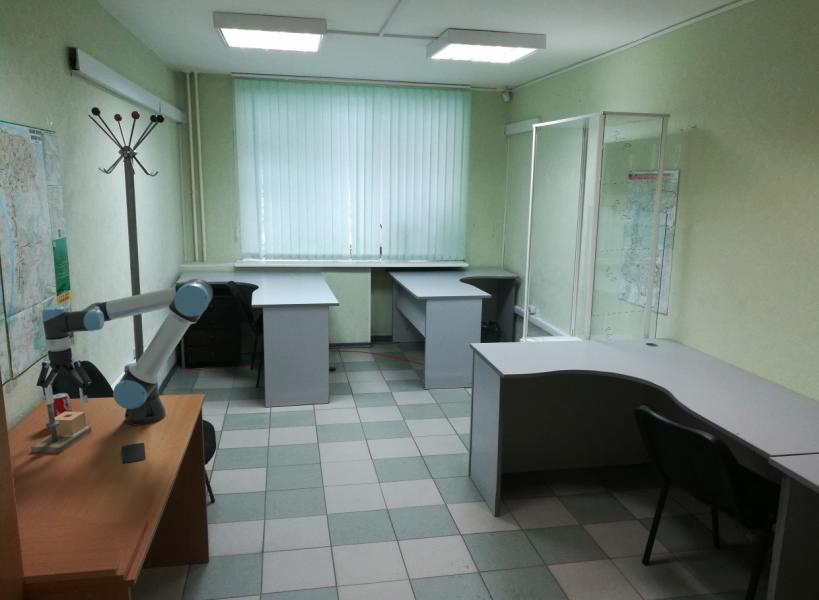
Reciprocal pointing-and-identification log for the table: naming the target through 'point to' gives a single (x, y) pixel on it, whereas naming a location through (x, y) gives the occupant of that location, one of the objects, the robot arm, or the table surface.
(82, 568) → the table surface
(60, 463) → the table surface
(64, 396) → the soda can
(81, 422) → the collar
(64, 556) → the table surface
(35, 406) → the table surface
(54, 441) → the stand
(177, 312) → the robot arm
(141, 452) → the phone
